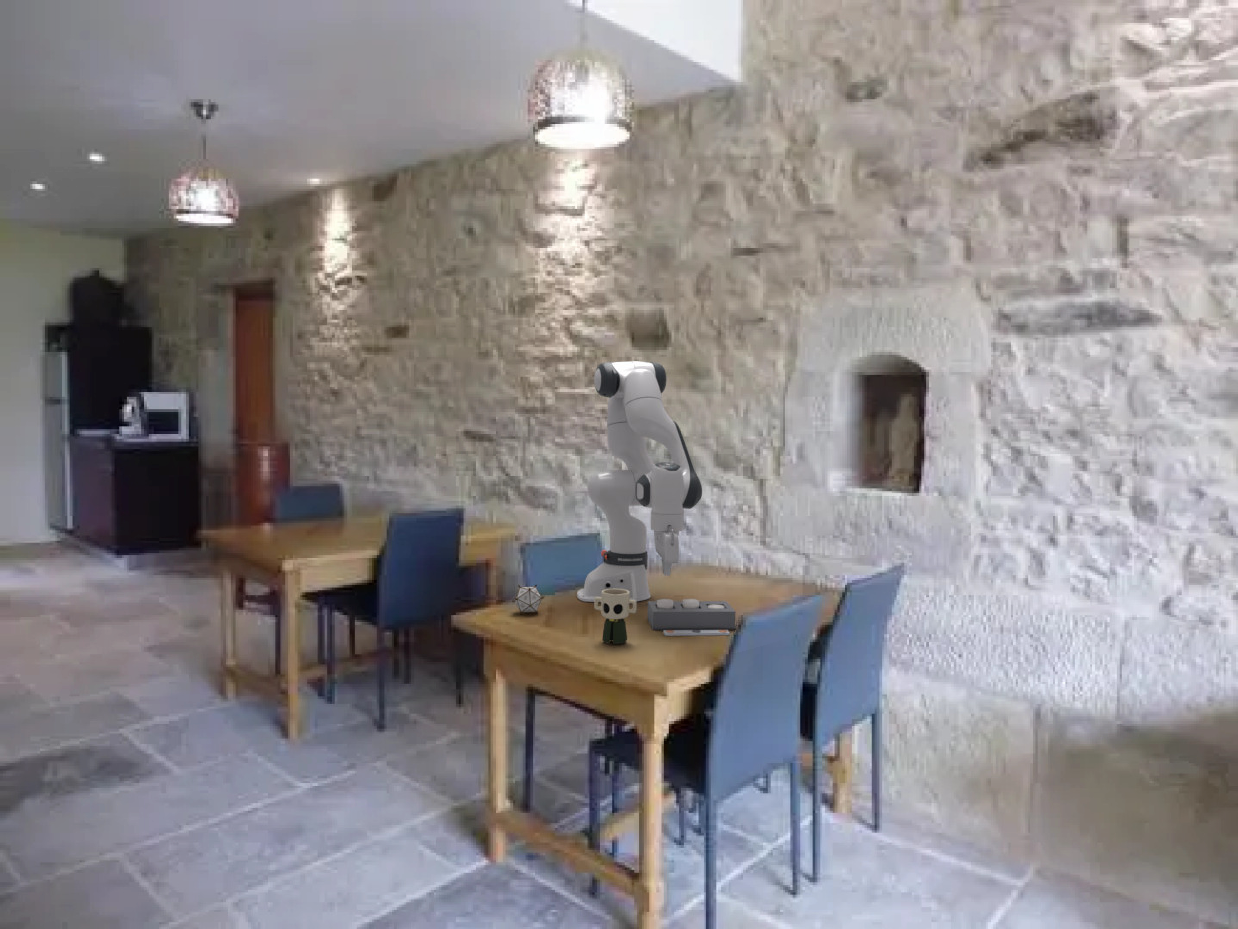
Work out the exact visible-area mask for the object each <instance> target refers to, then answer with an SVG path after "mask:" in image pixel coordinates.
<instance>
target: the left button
mask: <svg viewBox="0 0 1238 929" xmlns="http://www.w3.org/2000/svg"><path fill="white" fill-rule="evenodd" d="M656 601H657V609H673V601H674V600H673V599H669V598H661V599H657V600H656Z"/></svg>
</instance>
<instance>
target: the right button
mask: <svg viewBox="0 0 1238 929" xmlns="http://www.w3.org/2000/svg"><path fill="white" fill-rule="evenodd" d="M708 608H724V606H723V605H709V606H708Z"/></svg>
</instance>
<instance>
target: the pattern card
mask: <svg viewBox="0 0 1238 929" xmlns="http://www.w3.org/2000/svg"><path fill="white" fill-rule="evenodd" d="M662 631H663V632H662V633H663V635H664V636H665V637H666V636H667V637H668V636H670V637H671V636H672V637H673V636H680V637H681V636H730V634H731V633H730V630H662Z"/></svg>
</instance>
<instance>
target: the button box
mask: <svg viewBox="0 0 1238 929" xmlns="http://www.w3.org/2000/svg"><path fill="white" fill-rule="evenodd" d="M709 605H723V606H724V608H708V606H709ZM646 618H647V621H648V624H649V626H650V627H651V630H652V631H663V630H728V631H735V630H736V610H735V609H734V608H733V607H732V606H731V604H729V602H728V601H727V600H699V608H691V609H683V600H673V609H657V600H647V617H646ZM734 629H735V630H734Z"/></svg>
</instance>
